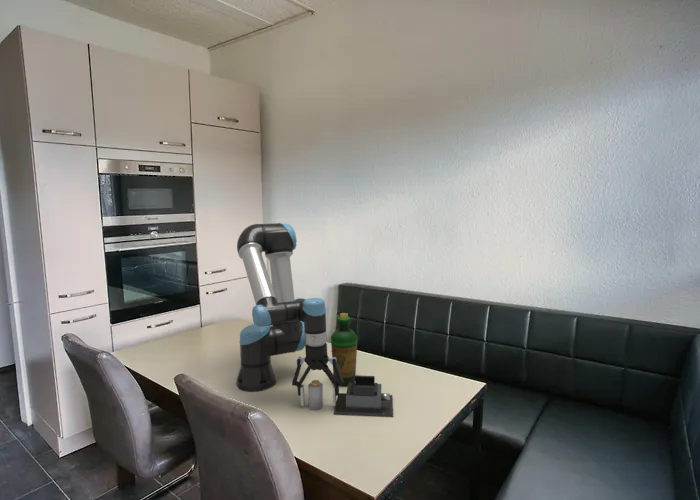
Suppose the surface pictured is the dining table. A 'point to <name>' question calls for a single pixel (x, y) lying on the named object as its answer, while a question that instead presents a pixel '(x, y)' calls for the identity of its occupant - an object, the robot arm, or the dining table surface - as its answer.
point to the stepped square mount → (364, 399)
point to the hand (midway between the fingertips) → (318, 404)
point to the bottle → (345, 349)
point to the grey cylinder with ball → (315, 395)
